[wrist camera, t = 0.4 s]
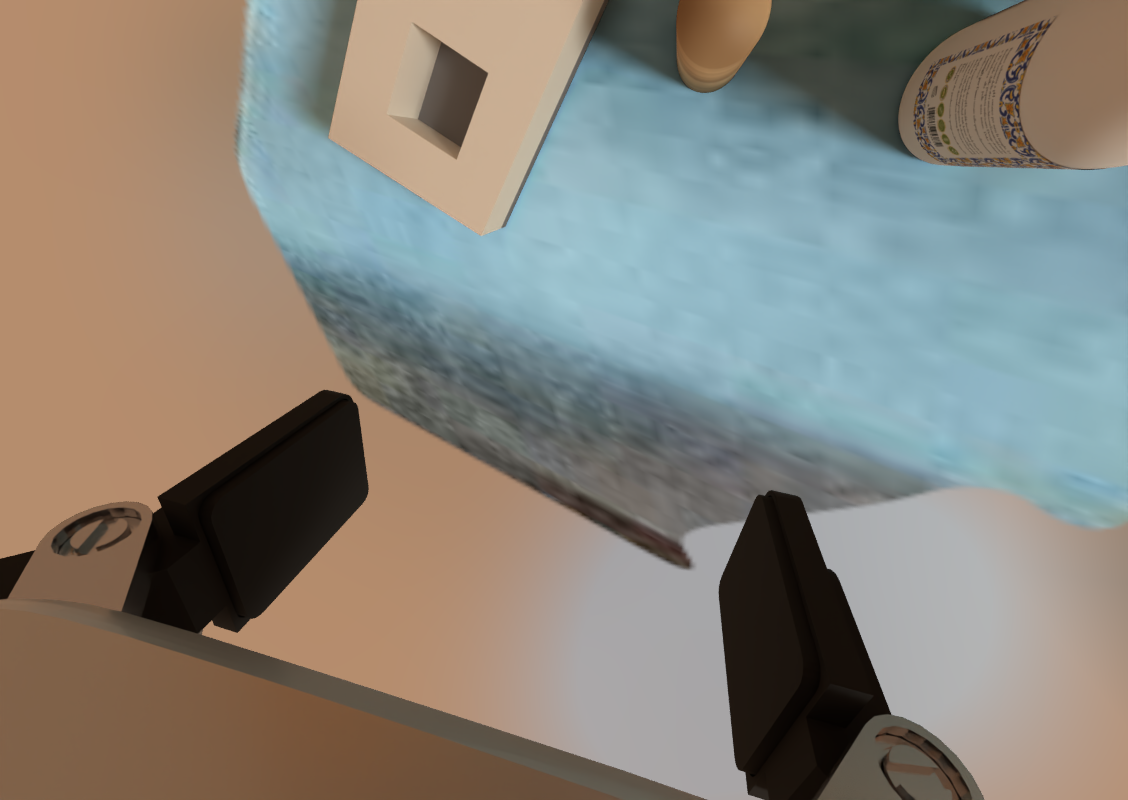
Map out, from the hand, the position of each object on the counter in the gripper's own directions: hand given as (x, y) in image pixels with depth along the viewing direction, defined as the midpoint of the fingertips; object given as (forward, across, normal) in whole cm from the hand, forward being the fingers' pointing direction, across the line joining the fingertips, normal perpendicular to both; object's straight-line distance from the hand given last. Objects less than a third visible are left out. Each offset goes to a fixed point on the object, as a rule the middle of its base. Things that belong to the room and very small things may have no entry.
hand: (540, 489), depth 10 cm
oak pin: (+28, -2, -13) cm, 31 cm away
